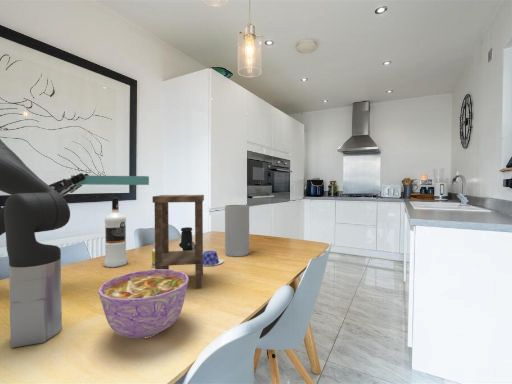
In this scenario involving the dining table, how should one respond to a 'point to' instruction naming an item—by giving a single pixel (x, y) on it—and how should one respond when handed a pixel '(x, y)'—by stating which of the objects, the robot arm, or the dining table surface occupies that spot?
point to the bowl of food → (143, 301)
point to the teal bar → (114, 180)
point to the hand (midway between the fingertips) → (86, 175)
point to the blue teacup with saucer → (211, 258)
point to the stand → (162, 236)
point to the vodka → (115, 237)
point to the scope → (187, 239)
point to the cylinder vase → (236, 230)
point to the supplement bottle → (153, 257)
